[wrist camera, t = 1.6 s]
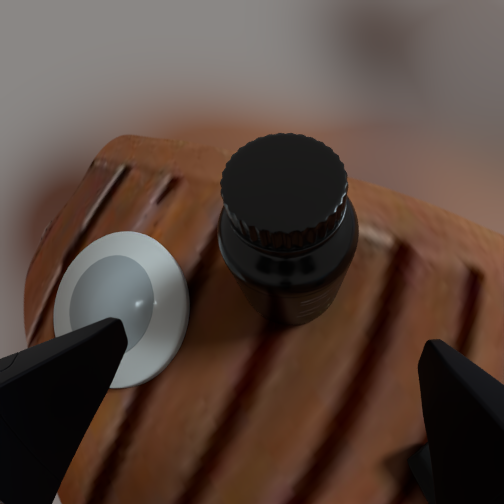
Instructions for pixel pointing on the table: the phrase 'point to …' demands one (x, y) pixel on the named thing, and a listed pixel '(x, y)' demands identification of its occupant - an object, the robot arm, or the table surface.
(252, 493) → the table surface
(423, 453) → the electric trimmer
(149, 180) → the table surface
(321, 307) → the supplement bottle
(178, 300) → the saucer
